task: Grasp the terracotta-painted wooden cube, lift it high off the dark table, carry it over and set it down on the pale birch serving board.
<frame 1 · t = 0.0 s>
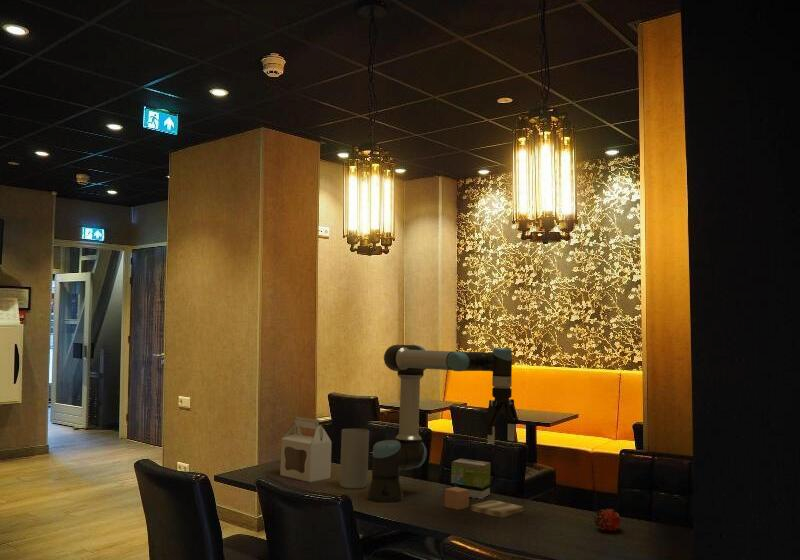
hand: (501, 442, 263), 28 cm above the table, fingers open, 13 cm apart
tea box: (470, 496, 294), on the table
cylinder vase: (353, 486, 306), on the table
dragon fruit: (608, 531, 244), on the table
terracotta cube: (456, 507, 273), on the table
birch board: (497, 511, 267), on the table
gable box: (304, 477, 324), on the table
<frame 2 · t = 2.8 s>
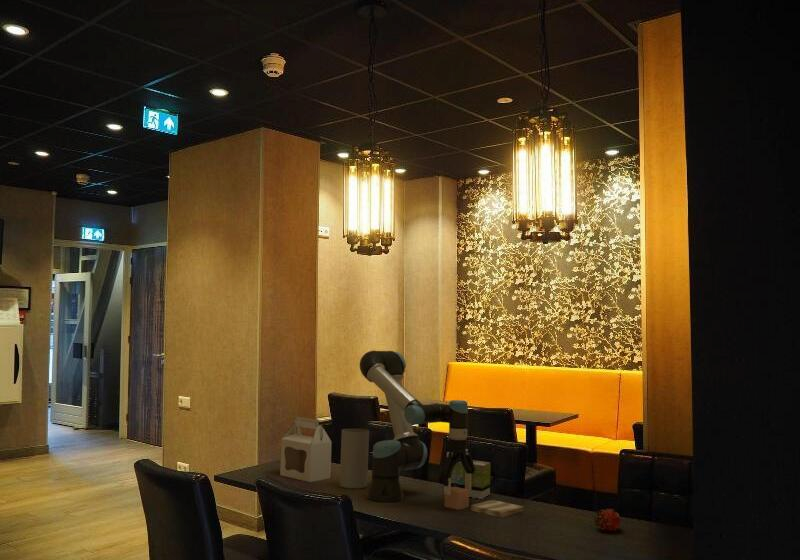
hand: (457, 492, 273), 6 cm above the table, fingers open, 13 cm apart
nothing on the table moved.
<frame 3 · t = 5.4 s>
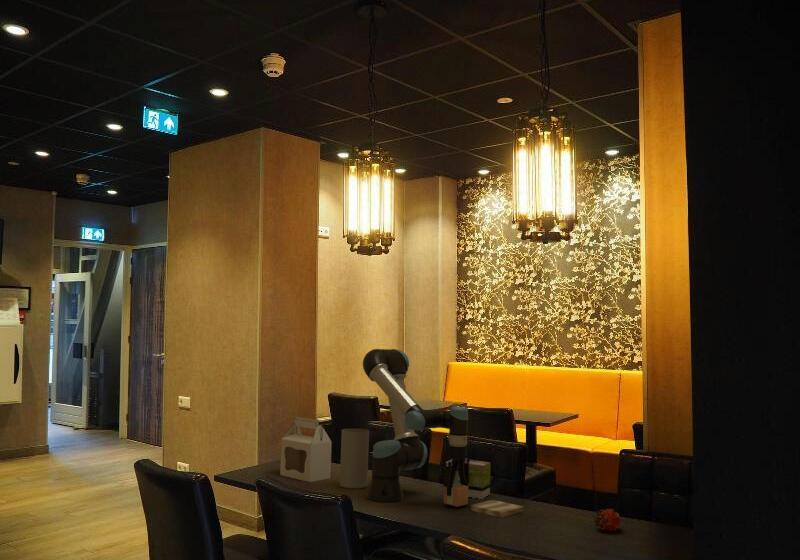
hand: (456, 502, 273), 2 cm above the table, fingers closed on terracotta cube, 7 cm apart
terracotta cube: (455, 503, 273), point 1 cm above the table, touching gripper
everything else where it was.
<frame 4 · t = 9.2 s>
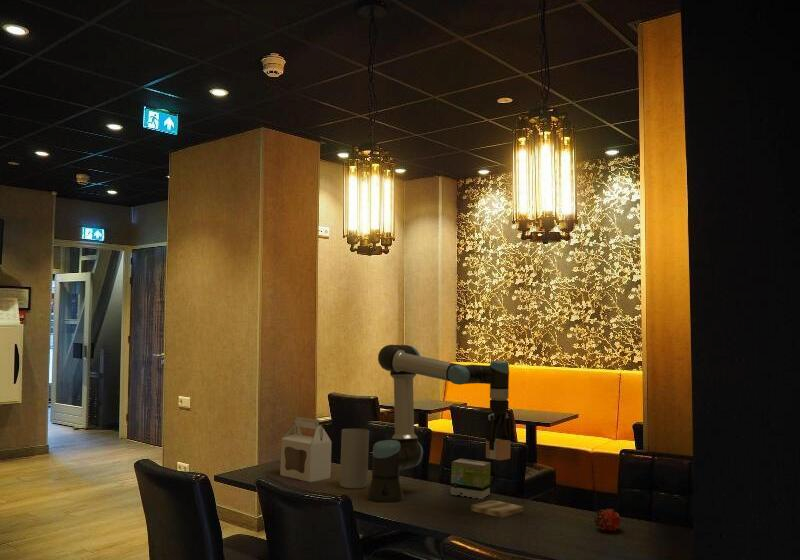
hand: (498, 457, 269), 21 cm above the table, fingers closed on terracotta cube, 7 cm apart
terracotta cube: (498, 458, 270), point 21 cm above the table, touching gripper
everything else where it was.
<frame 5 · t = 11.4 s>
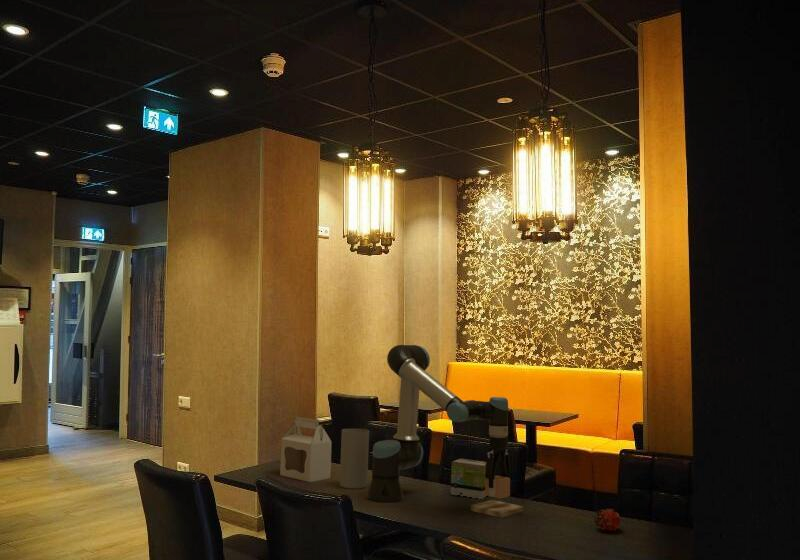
hand: (497, 494, 268), 6 cm above the table, fingers closed on terracotta cube, 7 cm apart
terracotta cube: (497, 495, 268), point 6 cm above the table, touching gripper
everything else where it was.
when the fingers open (3 cm above the table, at t = 13.1 s): terracotta cube stays where it is, resting on birch board.
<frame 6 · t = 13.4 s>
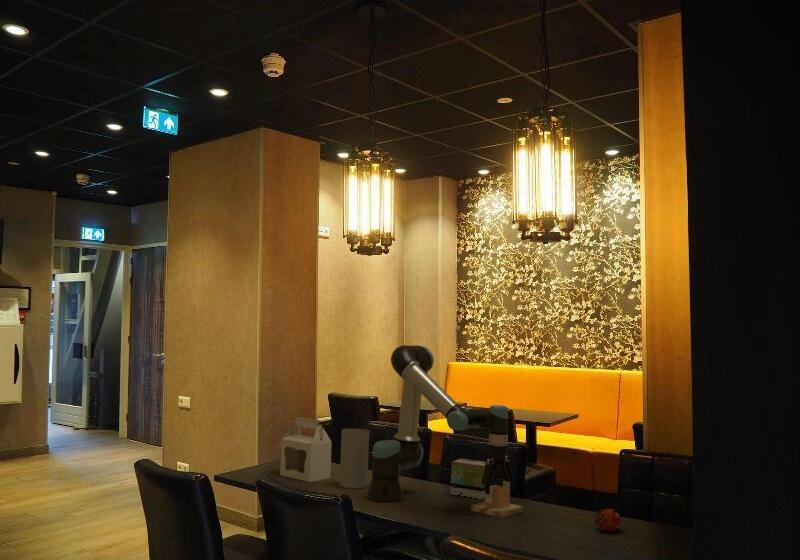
hand: (497, 500, 268), 4 cm above the table, fingers open, 11 cm apart
terracotta cube: (497, 505, 268), point 2 cm above the table, touching birch board
everything else where it was.
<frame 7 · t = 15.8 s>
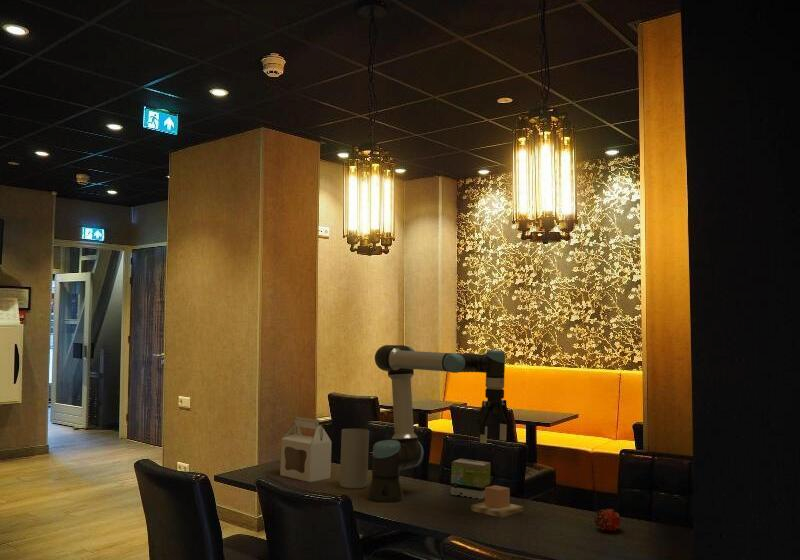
hand: (493, 441, 270), 27 cm above the table, fingers open, 13 cm apart
nothing on the table moved.
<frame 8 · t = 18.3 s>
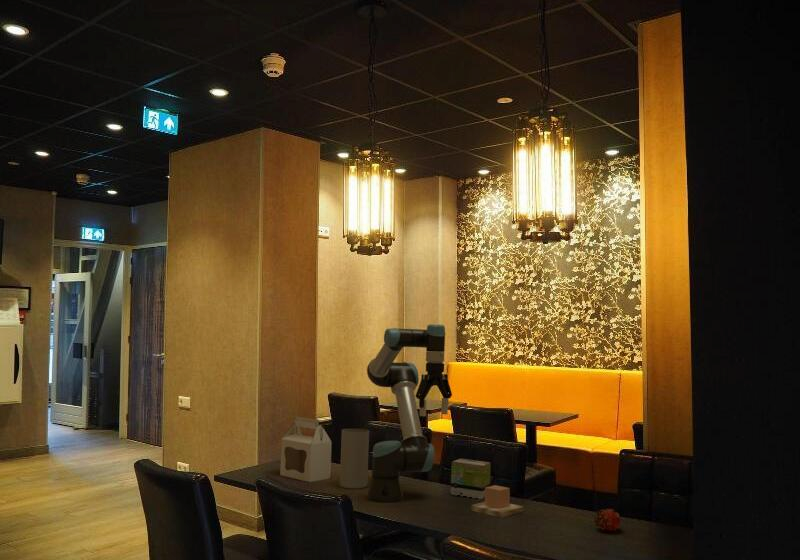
hand: (433, 415, 272), 37 cm above the table, fingers open, 13 cm apart
nothing on the table moved.
at the end: terracotta cube inside the target area on the birch board (0.2 cm from its centre), point 2.0 cm above the birch board's base; terracotta cube tilted 0°; the gripper is holding nothing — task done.
